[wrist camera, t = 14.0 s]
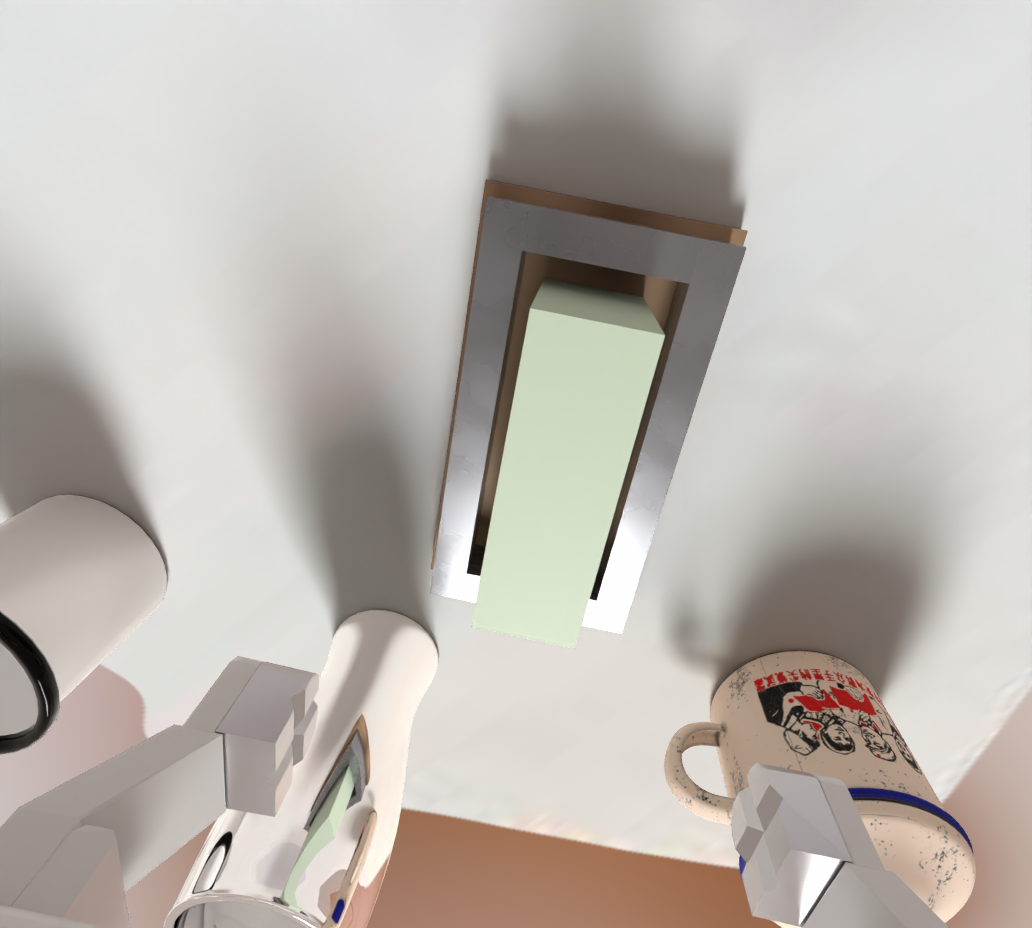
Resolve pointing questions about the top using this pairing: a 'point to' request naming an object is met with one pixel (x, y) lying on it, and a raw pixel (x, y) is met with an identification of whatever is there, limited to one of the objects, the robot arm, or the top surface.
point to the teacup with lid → (830, 765)
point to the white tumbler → (324, 796)
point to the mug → (66, 604)
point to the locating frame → (498, 348)
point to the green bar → (565, 458)
